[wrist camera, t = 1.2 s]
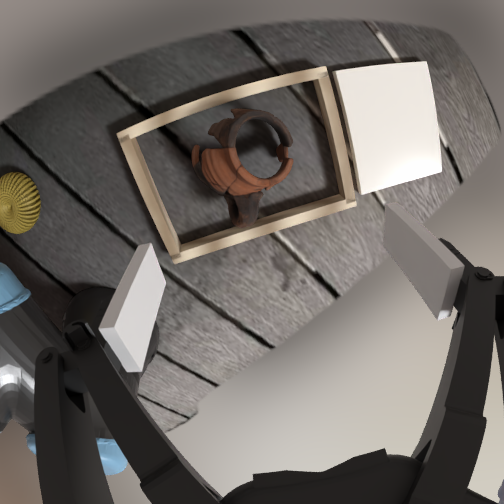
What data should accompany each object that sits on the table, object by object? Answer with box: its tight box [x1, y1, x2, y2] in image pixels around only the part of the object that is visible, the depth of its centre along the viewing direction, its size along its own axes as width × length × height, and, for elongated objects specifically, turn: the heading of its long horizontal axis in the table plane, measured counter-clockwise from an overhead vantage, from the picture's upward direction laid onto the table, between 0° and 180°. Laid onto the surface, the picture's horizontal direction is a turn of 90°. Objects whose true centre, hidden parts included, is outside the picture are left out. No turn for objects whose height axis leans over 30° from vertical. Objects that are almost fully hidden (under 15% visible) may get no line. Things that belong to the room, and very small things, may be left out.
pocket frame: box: [117, 66, 356, 264], centre depth 31 cm, size 22×16×2 cm
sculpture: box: [0, 172, 41, 234], centre depth 28 cm, size 8×4×8 cm
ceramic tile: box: [332, 62, 442, 195], centre depth 31 cm, size 13×15×1 cm
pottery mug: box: [192, 109, 293, 228], centre depth 30 cm, size 12×10×8 cm
